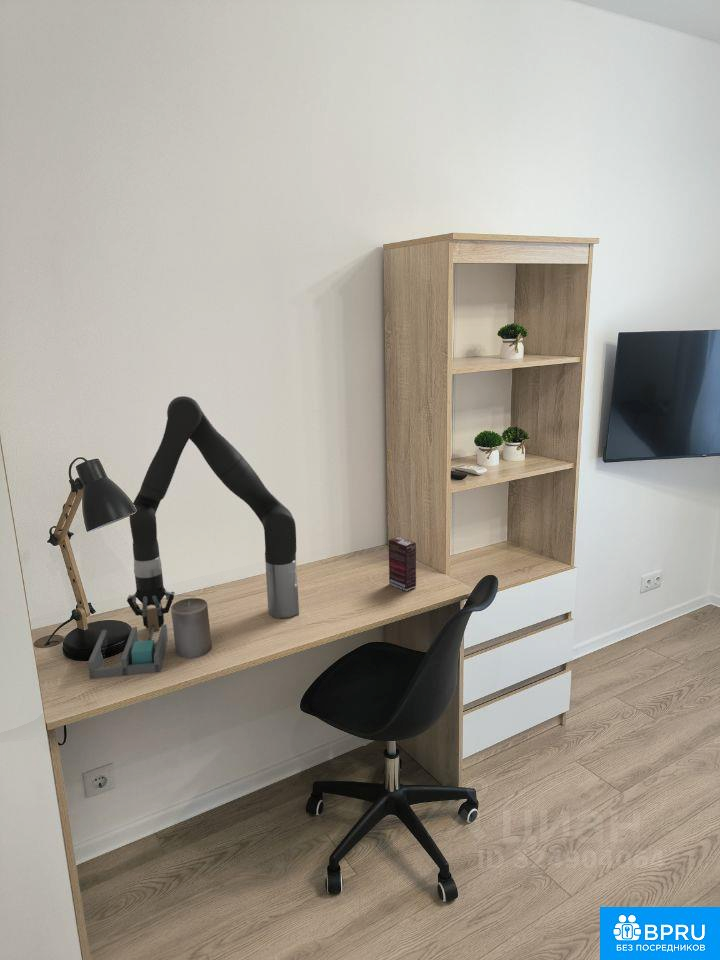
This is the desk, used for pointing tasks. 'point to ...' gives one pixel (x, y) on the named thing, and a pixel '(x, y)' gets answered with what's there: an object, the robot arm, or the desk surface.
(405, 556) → the supplement box
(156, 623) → the block ended dumbbell
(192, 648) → the pillar candle
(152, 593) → the robot arm
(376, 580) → the desk surface
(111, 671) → the lane rack
